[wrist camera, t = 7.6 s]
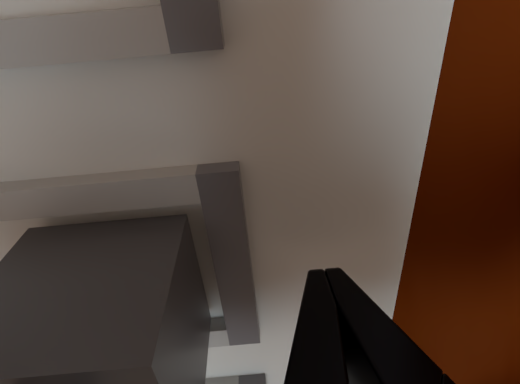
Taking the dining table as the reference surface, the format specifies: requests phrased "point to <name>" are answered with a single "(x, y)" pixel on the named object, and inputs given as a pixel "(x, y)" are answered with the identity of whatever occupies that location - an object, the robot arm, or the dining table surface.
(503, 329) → the dining table surface
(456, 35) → the dining table surface
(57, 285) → the toggle middle
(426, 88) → the breaker board
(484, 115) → the dining table surface
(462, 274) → the dining table surface
